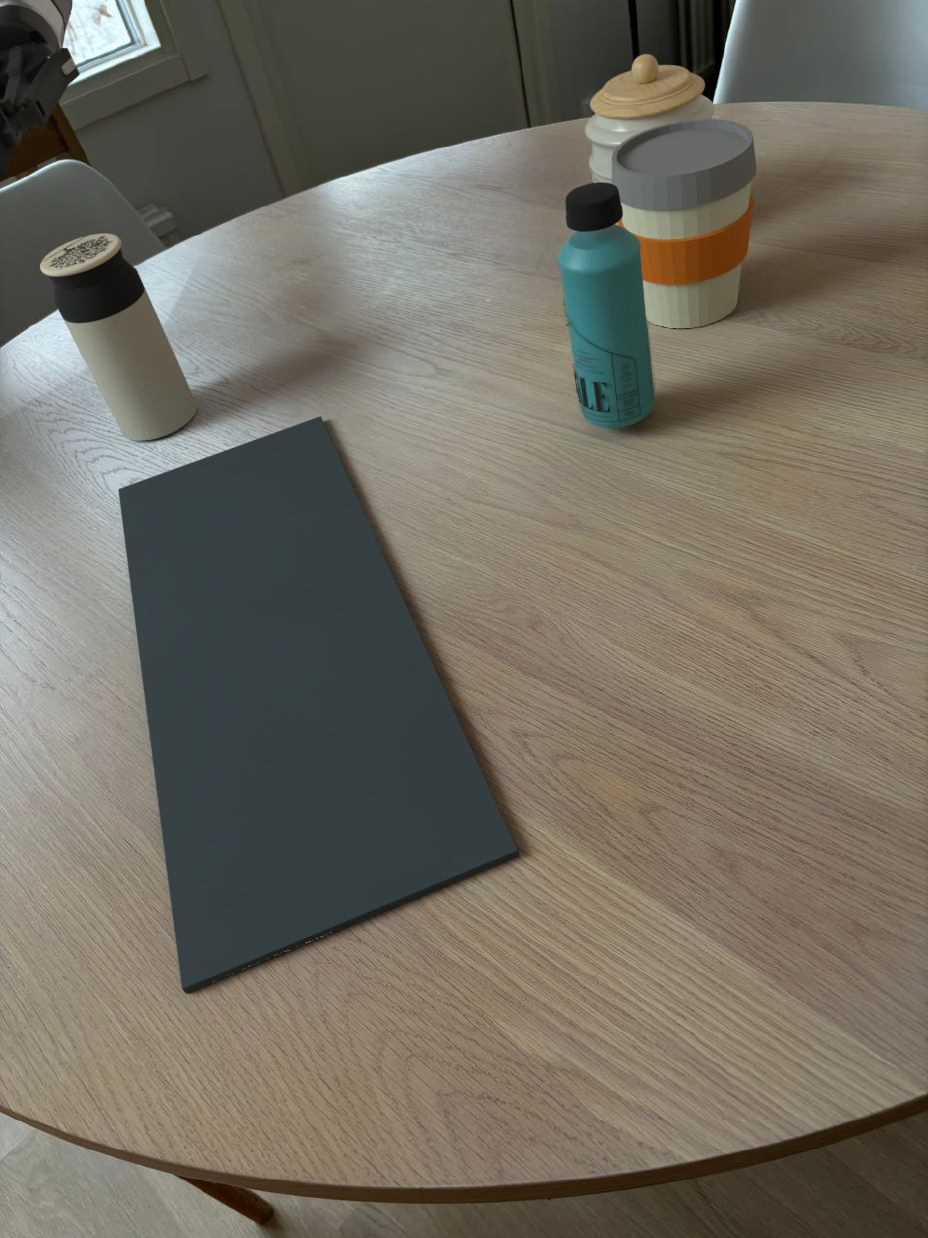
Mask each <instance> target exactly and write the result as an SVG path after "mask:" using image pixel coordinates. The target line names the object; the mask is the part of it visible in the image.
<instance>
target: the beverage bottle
mask: <svg viewBox="0 0 928 1238" xmlns="http://www.w3.org/2000/svg"><path fill="white" fill-rule="evenodd" d="M564 203H565V223H566V226H567V228H568V229H569V230H571V231H574V233H572V235H570V237H569V238H567V240H566V241H565V242H564V244H563V245H562V247H561V248H560V250H559V252H558V254H557V263H558V266H559V270H560V276H561V283H562V291H563V297H562V301H563V309H564V314H565V318H566V320H565V321H566V322H567V323H566V324H565V326H566V327H568V333H569V340H570V344H571V347H570V349H571V353H572V358H573V365H572V368H573V376H574V385H575V391H576V394H577V398H578V403H577V404H578V407H579V409H580V413H581V414H582V415H583V417H584V419H585V420H586V421H587V422H588V423H589V424H591V425H593V426H596V427H600V428H606V429H615V428H623V427H628V426H631V425H634V424H637V423H639V422H640V421H642V420H643V419H645V418H646V417H648V416H649V415H650V413H651V412H652V411H653V408H654V404H655V402H656V398H655V393H657V391H656V388H657V387H656V379H655V376H654V374H655V371H654V368H653V365H652V362H654V359H653V357H652V355H651V351H653V349H652V346H653V345H652V343H650V340H652V339H651V336H650V334H649V329H650V326H649V325H648V320H647V319H646V318H647V317H646V310H645V299H644V288H643V277H642V266H641V255H640V251H641V244H640V241H639V239H638V238H637V237H636V236H635V235H634V234H632V233H631V232H629V231H628V230H626V229H624V228H623V227H621V226H618V225H615V224H616V223H617V222H619V221H620V220H621V219H622V217H623V209H622V205H621V201H620V196H619V190H618V188H617V187H616V186H615V185H613V184H610V183H604V182H598V183H593V182H591V183H590V182H589V183H586V184H582V185H580V186H578V187H575V188H574V189H572V190H570V191H569V192H568V193H567V194H566V196H565V200H564Z"/></svg>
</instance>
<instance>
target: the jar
mask: <svg viewBox="0 0 928 1238" xmlns="http://www.w3.org/2000/svg"><path fill="white" fill-rule="evenodd" d="M705 83H706V82H705V80H704V79H703V78H702V77H701V76H700V75H698V74H695V73H693V72H691V71H689V70H688V69H687V68H686V67H683V66H681V65H673V64H659V63H658V60H657V58H656V57H654V55H652V54H648V53H643V54H641V55H638V56H637V57H636V58H635V59H634V61H633V63H632V65H631V70H629V71H625V72H623V73H620V74H618V75H616V76H614V77H612V78H610V79H609V80H608V81H607V82H606V83H605V84H604V86H603V87H602V88H601V89H600V90H598V91H597V92H596V93H595V94H594V96H593V97H591V100H590V104H589V105H590V109H591V110H592V112H593V113H594V114H593V115H592V116H591V117H590V118H589V119H588V121H587V122H586V123H585V127H584V134H585V136H586V137H587V139H588V140H589V141H591V154H590V156H589V158H588V166H589V169H590V172H591V179H592V183H598V182H604V183H610V184H612V155H613V152H614V151H615V149H616V148H617V147H618V146H619V145H620V144H621V143H623V142H624V141H625V140H627V139H629V138H630V137H632V136H634V135H636V134H638V133H641V132H643V131H645V130H648V129H651V128H654V127H657V126H661V125H665V124H669V123H674V122H679V121H687V120H696V119H713V116H714V114H715V104H714V102H712V100H711V99H709V97H706V96H705V95H703V92H704V90H705V88H706V84H705ZM615 225H618V222H617V223H616V224H615Z"/></svg>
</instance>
